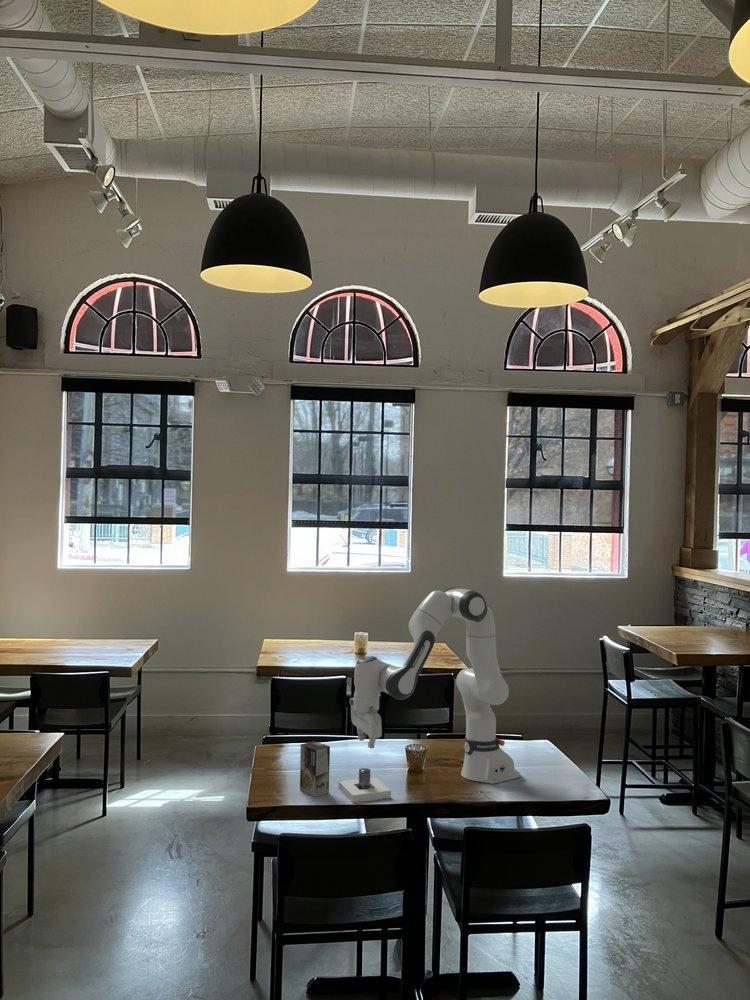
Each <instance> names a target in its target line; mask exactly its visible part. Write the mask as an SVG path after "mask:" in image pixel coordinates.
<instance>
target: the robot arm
mask: <svg viewBox="0 0 750 1000" xmlns="http://www.w3.org/2000/svg"><path fill="white" fill-rule="evenodd" d="M449 617H453V618H456V619H459V620H461V619H464V622H465V626H466V628H465V631H466V632H465V636H466V637H465V638H466V639H465V642H466V643H465V644H466V646H465V647H466V650H465V651H466V657H467V659H468V660H469V662H470V664H471V667H469V668H468V667H467V668H463V669H462V670H460V671H459V673H457V676H456V680H455V682H456V687H457V689H458V691H459V692H460V695H461V698H462V702H463V706H464V711H465V712H464V713H465V729H466V730H465V734H466V735H465V737H464V759H463V764H462V769H461V772H460V776H461V777H463V778H464V779H467V780H470V781H475V782H479V783H480V782H481V783H486V784H492V785H493V784H497V783H502V782H507V781H511V780H514V779H520V778H521V777H522V775H521V772H520V771H519V770H517V769H516V767H515V763H514V759H513V758H512V756H511V755H509V754H508V753H506V751H504V750H503V749H502V748H501V747H503V746H505V740H503V739H502V738H500V739H499V738H498V737H496V733H497V731H496V730H497V719H496V718H497V717H496V716H495V713H494V712H493V709H492V707H491V705H493V706H498V705H501V704H503V703H505V702H506V700H507V699H508V697H509V694H510V691H509V690H510V687H509V684H508V683H507V682H506V681H505V679H504V677H503V675H502V671H501V669H500V666H499V662H498V657H497V638H496V623H495V618H494V612H493V610H492V609H491V608H490V607H489V606H487V601H486V599H485V597H484V596H483V595H482V594H481V593H480V592H477V591H476V590H471V589H466V588H456V587H450V588H446V589H445V590H443V591H442V590H432V591H431V592H429V594H427V596H426V597H424V599H422V601H421V603H420V604H419V606H417V608H416V610H415V611H414V612H413V614H412V616H411V617H410V620H409V623H408V630H409V634H410V636H411V637H412V639H413V646H412V649H411V650H410V651H409V654H408V656H407V658H406V659H405V662H404V663H403V665H402V666H401V667H398V666H396V665H393V664H390V663H388V662H384V661H382V660H380V659H379V658H378V657H377V656H374V655H373V656H369V655H368V656H367V655H366V656H363V657H360V658H359V659H358V660H357V661H356V663H355V666H354V672H353V673H354V676H353V677H354V678H353V684H354V693H353V697H351V698H349V704H350V719H351V723H352V725H354V726H355V727H356V731H357V739H358V741H360V742H361V741H365V735H364V734H366V735H367V736H368V739H369V741H367V747H368V748H369V749H374V748H375V743H376V740H377V739H378V738H381V737H382V734H383V733H382V732H383V730H382V725H383V724H382V718H381V715H380V714H379V713H378V711H379V709H380V694H381V693H382V692H384V693H386V694H388V695H389V696H391V697H393V698H394V699H395V700H399V701H402V700H406V699H408V698H409V697H411V696H412V694H414V692H415V689H416V687H417V683H418V679H419V675H420V673H421V672H422V669H423V667H424V666H425V664H426V661H427V660H428V658H429V656H430V655H431V652H432V650H433V648H434V645H435V643H436V642H435V641H436V637H438V636H437V635H438V634H439V632H440V630H441V629H442V627H443V625H444V624H445V622H446V621H447V619H448V618H449ZM500 746H501V747H500ZM519 777H520V778H519Z"/></svg>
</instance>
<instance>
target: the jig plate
mask: <svg viewBox="0 0 750 1000" xmlns="http://www.w3.org/2000/svg"><path fill="white" fill-rule="evenodd" d="M339 789H340V790H341V791H342V792H341V791H340V790H339ZM338 790H339V791H340V792H341V793H342V794H343V795H344V796H345V797H346V798H347V799H348V800H349V801H350V802H351V803H361V802H362V803H363V802H368V801H376V800H378V799H379V800H384V799H383V798H386V799H391V798H392V791H391V789H390V788H389V787H387V786H386V785H385V784H384V783H383V782H382V781H380V780H379V779H378V778H377V777H376V776H375V777H370V789H363V790H359V778H358V779H357V778H356V779H351V780H341V781H338ZM379 800H378V801H379Z"/></svg>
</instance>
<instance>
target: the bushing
mask: <svg viewBox="0 0 750 1000" xmlns="http://www.w3.org/2000/svg"><path fill="white" fill-rule="evenodd" d="M371 771H372V770H371V769H370V768H366V767H364V768H363V767H362V768H359V769H358V779H359V790H363V789H370V778H371V774H372V773H371Z"/></svg>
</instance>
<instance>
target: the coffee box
mask: <svg viewBox="0 0 750 1000" xmlns="http://www.w3.org/2000/svg"><path fill="white" fill-rule="evenodd" d="M330 752H331V746H330V745H327V744H324V743H321V742H318V741H316V740H312V741H309V742H304V743H302V744H300V757H299V758H300V761H299V762H300V763H299V764H300V766H299V767H300V768H299V772H300V774H299V791H300V790H301V791H300V792H303V793H305V794H307V795H311V796H313V797H315V798H317V797H321V796H324V795H328V794H329V792H330V761H331V758H330V755H331V754H330ZM327 793H328V794H327Z"/></svg>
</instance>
